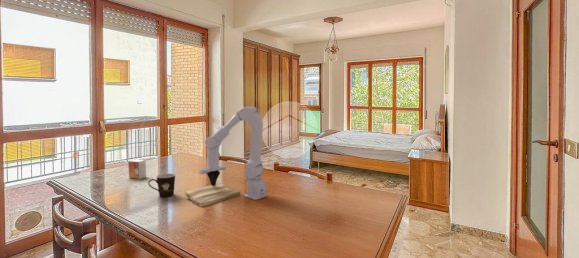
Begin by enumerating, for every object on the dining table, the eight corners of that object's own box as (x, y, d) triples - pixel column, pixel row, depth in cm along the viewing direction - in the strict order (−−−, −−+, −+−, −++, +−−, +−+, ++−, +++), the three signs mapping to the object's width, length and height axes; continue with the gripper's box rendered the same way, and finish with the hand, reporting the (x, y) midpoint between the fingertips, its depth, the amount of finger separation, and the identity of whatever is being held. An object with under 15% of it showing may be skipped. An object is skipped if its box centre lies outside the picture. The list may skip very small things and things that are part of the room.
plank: (229, 191, 151) (229, 189, 150) (193, 201, 136) (193, 198, 136) (220, 185, 156) (220, 183, 155) (185, 194, 141) (185, 191, 141)
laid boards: (240, 195, 146) (240, 191, 146) (200, 206, 130) (200, 203, 130) (232, 192, 151) (232, 189, 150) (192, 203, 134) (192, 199, 134)
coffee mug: (179, 192, 149) (178, 173, 148) (170, 198, 141) (169, 178, 140) (157, 192, 151) (156, 173, 150) (147, 197, 142) (146, 177, 141)
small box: (128, 178, 178) (127, 161, 176) (136, 175, 183) (135, 159, 182) (139, 179, 175) (138, 161, 174) (146, 176, 181) (145, 160, 179)
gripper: (220, 156, 158) (220, 180, 160) (196, 160, 148) (196, 186, 149) (228, 158, 153) (228, 183, 155) (203, 162, 143) (203, 189, 144)
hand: (213, 185), depth 152 cm, fingers closed, pressing on plank
